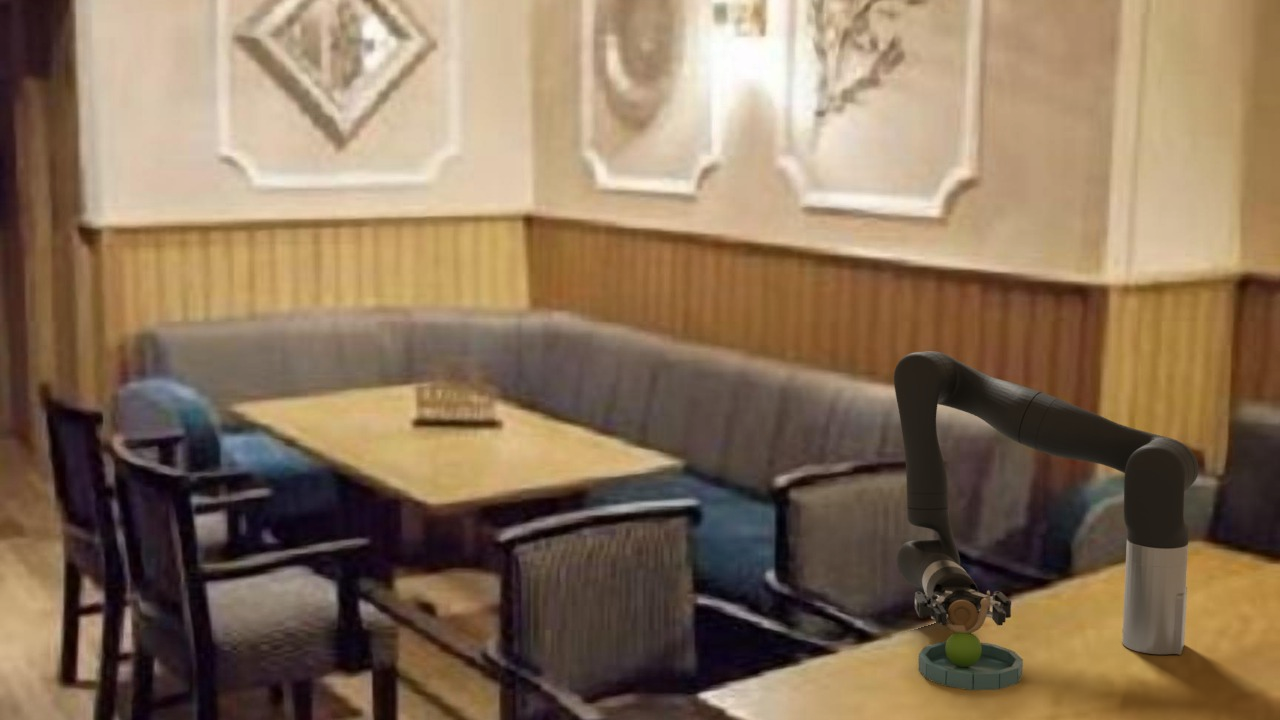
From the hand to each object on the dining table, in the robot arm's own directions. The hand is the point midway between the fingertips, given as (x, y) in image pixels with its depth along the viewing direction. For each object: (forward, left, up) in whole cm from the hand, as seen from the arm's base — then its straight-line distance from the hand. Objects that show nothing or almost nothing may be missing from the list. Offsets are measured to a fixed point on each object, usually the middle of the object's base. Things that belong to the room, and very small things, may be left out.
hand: (972, 619), depth 230 cm
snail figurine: (+1, 0, -8) cm, 8 cm away
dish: (0, 0, -8) cm, 9 cm away
